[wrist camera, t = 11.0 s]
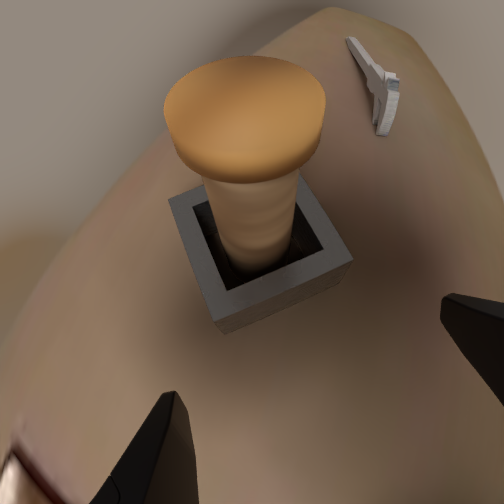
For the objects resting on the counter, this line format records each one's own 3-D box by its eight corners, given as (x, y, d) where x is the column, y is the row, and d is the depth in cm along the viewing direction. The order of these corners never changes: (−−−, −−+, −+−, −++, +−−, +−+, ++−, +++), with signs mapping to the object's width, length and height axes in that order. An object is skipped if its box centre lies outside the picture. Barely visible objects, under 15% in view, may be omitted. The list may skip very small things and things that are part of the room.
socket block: (284, 190, 23) (287, 154, 19) (338, 283, 20) (353, 259, 16) (183, 230, 22) (168, 199, 18) (224, 334, 19) (213, 321, 15)
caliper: (386, 140, 25) (405, 88, 20) (375, 139, 25) (393, 86, 20) (352, 42, 34) (358, 4, 28) (344, 41, 34) (349, 3, 28)
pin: (307, 238, 21) (341, 74, 9) (278, 306, 19) (293, 173, 8) (239, 212, 22) (213, 48, 10) (205, 275, 20) (132, 129, 9)
